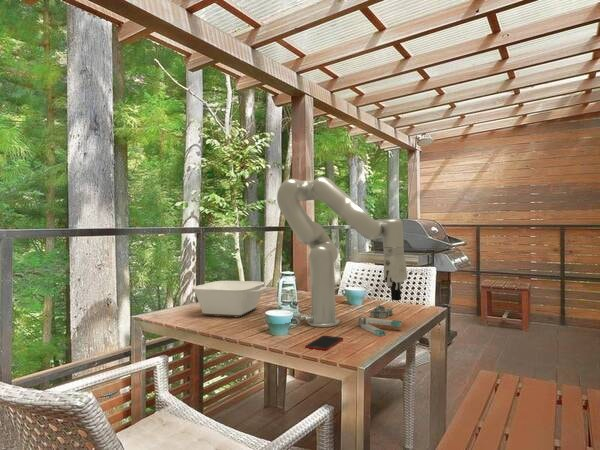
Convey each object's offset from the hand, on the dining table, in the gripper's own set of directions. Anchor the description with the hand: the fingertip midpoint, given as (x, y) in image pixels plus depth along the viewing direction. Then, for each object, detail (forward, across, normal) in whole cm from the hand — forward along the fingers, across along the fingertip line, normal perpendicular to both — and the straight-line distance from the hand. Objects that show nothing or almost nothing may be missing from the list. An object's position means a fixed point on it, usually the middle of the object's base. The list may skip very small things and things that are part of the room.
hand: (396, 299), depth 159 cm
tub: (+8, -22, +72) cm, 76 cm away
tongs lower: (+10, -11, +5) cm, 15 cm away
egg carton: (+10, +14, +15) cm, 23 cm away
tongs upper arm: (+8, -6, +3) cm, 10 cm away
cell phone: (+10, -34, +8) cm, 37 cm away
